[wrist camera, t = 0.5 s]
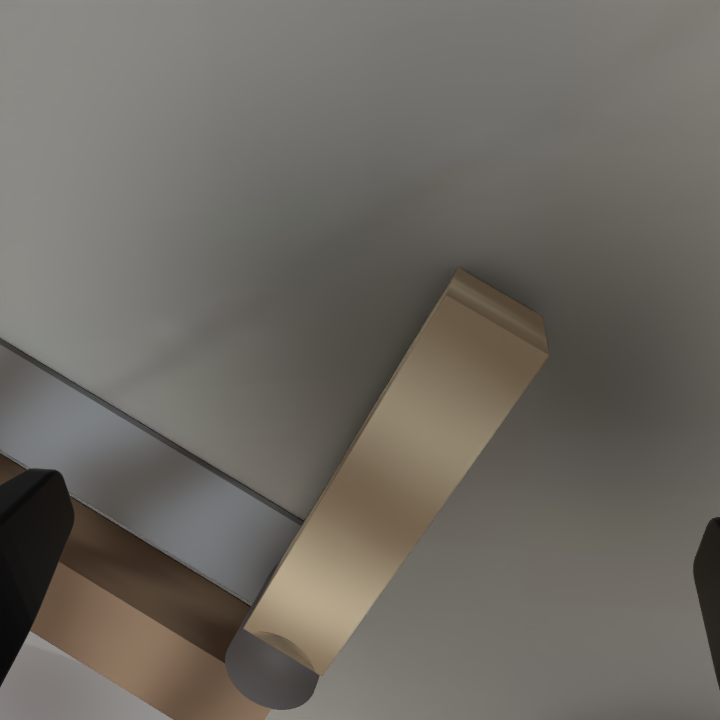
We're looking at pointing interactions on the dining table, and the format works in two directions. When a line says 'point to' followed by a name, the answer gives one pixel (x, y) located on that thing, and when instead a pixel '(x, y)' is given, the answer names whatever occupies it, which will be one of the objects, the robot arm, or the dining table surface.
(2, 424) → the bench scraper
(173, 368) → the dining table surface
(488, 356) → the oak leg
